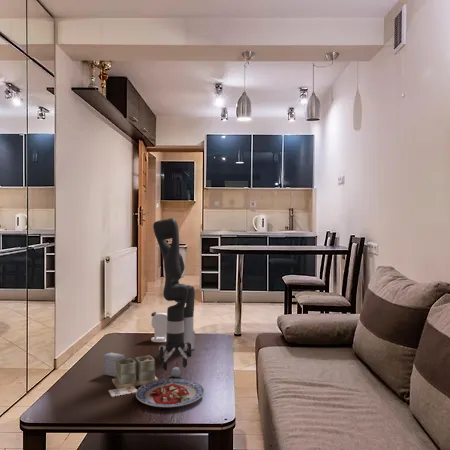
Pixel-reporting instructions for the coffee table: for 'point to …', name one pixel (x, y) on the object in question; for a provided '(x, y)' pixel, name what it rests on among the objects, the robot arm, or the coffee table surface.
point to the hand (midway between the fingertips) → (174, 368)
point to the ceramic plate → (170, 392)
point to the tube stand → (134, 372)
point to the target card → (122, 391)
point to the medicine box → (111, 363)
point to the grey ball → (175, 372)
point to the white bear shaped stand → (159, 326)
